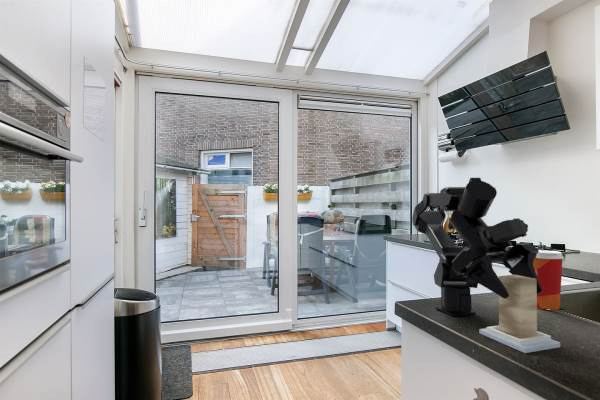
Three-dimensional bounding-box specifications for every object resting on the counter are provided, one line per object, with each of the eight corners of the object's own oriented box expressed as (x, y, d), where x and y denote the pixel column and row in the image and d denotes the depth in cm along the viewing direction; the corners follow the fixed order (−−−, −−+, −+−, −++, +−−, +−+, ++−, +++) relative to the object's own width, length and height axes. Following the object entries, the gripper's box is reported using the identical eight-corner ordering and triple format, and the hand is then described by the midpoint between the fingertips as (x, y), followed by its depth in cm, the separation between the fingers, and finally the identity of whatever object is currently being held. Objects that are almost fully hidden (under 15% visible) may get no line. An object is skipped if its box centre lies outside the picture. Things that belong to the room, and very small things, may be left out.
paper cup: (529, 301, 93) (528, 248, 94) (565, 306, 89) (564, 251, 89) (525, 308, 87) (524, 251, 88) (563, 314, 83) (563, 254, 83)
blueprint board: (479, 333, 70) (479, 325, 70) (511, 328, 73) (511, 320, 73) (525, 353, 61) (524, 343, 61) (560, 347, 63) (560, 338, 63)
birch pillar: (499, 333, 68) (498, 276, 68) (514, 330, 70) (514, 274, 70) (521, 341, 64) (520, 280, 64) (537, 337, 66) (536, 278, 66)
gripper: (463, 205, 67) (519, 273, 57) (528, 205, 74) (589, 265, 64) (433, 242, 74) (478, 309, 64) (495, 239, 82) (545, 298, 71)
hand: (524, 294), depth 66 cm, fingers open, 9 cm apart
